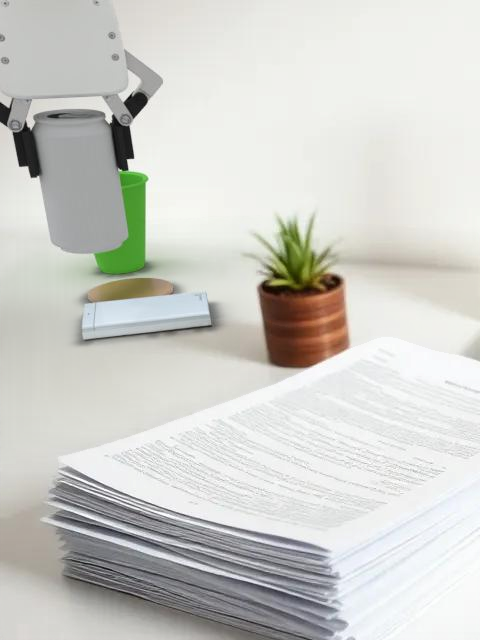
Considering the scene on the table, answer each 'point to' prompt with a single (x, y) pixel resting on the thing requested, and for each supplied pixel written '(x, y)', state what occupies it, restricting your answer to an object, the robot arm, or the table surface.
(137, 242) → the cup
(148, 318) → the hard drive
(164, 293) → the coaster
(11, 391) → the table surface
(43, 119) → the beverage can
